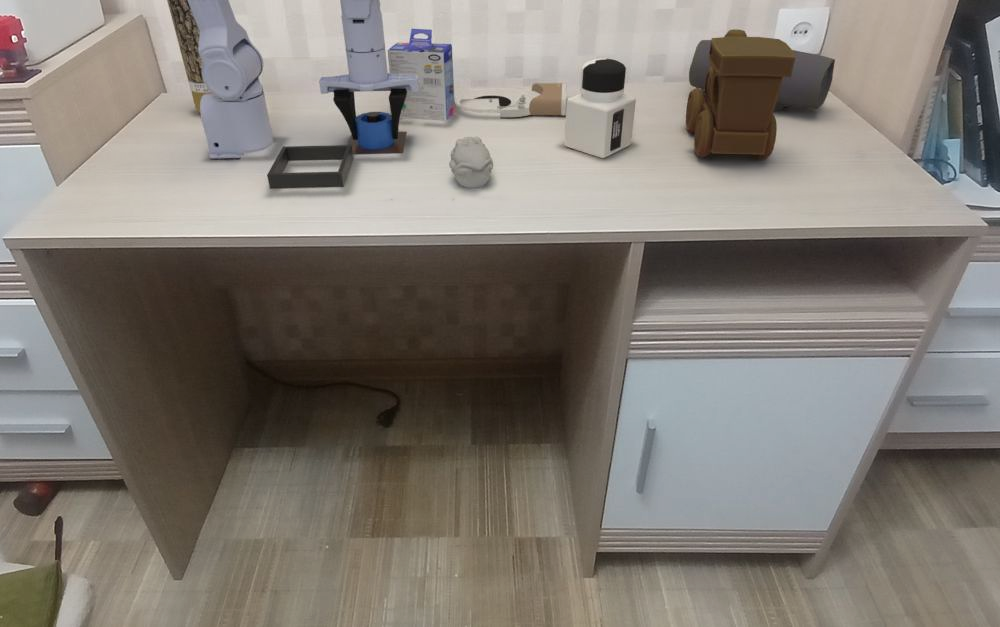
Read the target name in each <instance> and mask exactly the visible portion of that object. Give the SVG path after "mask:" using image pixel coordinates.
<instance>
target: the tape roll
mask: <svg viewBox="0 0 1000 627" xmlns="http://www.w3.org/2000/svg"><path fill="white" fill-rule="evenodd" d="M370 112H371V111H369V112H364V113H361V114H359V115H356V119H355V124H356V131H357V138H358V145H359V146H360V147H362V148H365V149H383V148H387V147H389V146H391V145H393V144H394V141H395V139H393V135H392V117H391V113H388V112H383V111H377V112H378V113H380V122H367V114H368V113H370Z"/></svg>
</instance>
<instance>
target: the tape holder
mask: <svg viewBox="0 0 1000 627" xmlns="http://www.w3.org/2000/svg"><path fill="white" fill-rule="evenodd" d="M369 112H370V113H368V112H367V113H368V114H367V122H380V113H378V112H379V111H369ZM407 134H408V131H398V139H395V141H394V144H393V145H391V146H389V147H387V148H383V149H365V148H362V147H360V146H359V145H358V140H353V137H352V134H350V136H349V138H348V139H349V140H348V142H347V145H352V152H353V156H358V155H391V154H392V155H393V154H394V155H395V154H399V155H400V154H404V150H405V145H406V141H407Z"/></svg>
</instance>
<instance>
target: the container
mask: <svg viewBox="0 0 1000 627" xmlns="http://www.w3.org/2000/svg"><path fill="white" fill-rule="evenodd" d="M626 74H627V67H626V66H625V64H623V63H622V62H620V61H619V60H616V59H612V58H594V59H591V60H587V61H585V62H584V63H583V65H582V66H581V74H580V93H578V94H576V95H573V96H571V97H568V98H566V116H565V129H564V130H565V131H564V146H565V147H566V148H570V149H572V150H576V151H578V152H581V153H585V154H587V155H591V156H594V157H597V158H599V159H605V158H607V157H609V156H611V155H613V154H615V153H617V152H620V151H621V150H624V149H625V148H627V147H630V145H632V141H633V140H632V139H633V131H634V122H635V121H634V120H635V112H636V102H637V98H636V96H633V95H628V94H624V93H625V83H626Z"/></svg>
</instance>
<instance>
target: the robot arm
mask: <svg viewBox="0 0 1000 627" xmlns="http://www.w3.org/2000/svg"><path fill="white" fill-rule="evenodd" d="M188 3H189V5H190V8H191V11H192V13H193V16H194V18H195V21H196V23H197V26H198V28H199V31H200V37H199V47H198V52H199V55H200V57H201V60H202V78H203V81H204V84H205V85H206V87H207V88H208V90H209V91H210V92H211V93H212V94H205V95H203V96H202V98H201V101H200V113H199V114H200V119H201V123H202V127H203V131H204V134H205V139H206V142H207V146H208V150H209V155H208V157H209V159H212V160H214V159H215V160H216V159H241V158H242V157H243V156H244V154H245V153H253V152H258V151H263V150H265V149H267V148H270V147H271V146H272V145H273V144H274V142H275V140H274V136H273V131H272V125H271V121H270V116H269V111H268V105H267V100H266V96H265V92H264V91H265V90H264V87H263V85H262V83H261V81H260V76H261V75H262V73H263V70H264V59H263V56H262V54H261V52H260V50H259V49H258V48H257V47H256V46H255V45H254V44H253V43H252V41H251V39H250V38H249V35H248V32H247V30H246V29H245V28H244V26H242V25H241V24H240V23H239V22H238V21H237V19H236V16H235V14H234V11H233V9H232V8H233V7H232V5H231V3H230V0H188ZM339 3H340V10H341V15H340V16H341V25H342V33H343V40H344V41H343V42H344V47H345V55H346V61H347V62H346V63H347V71H348V74H343V75H342V74H341V75H332V76H321V77H320V79H319V82H318V83H319V90H320V94H321V95H327V94H329V93H333V98H332V100H333V103H334V105H335V106H336V107H337V109H338V110H339V112H340V113H341V115H342V116H343V118H344V120H345V122H346V124H347V127H348V129H349V131H350V133H351V134H352V137H353V140H358V138H357V131H356V124H355V119H356V117H357V112H356V100H355V93H356V92H358V93H359V92H389V94H388V102H389V109H390V115H391V117H392V135H393V139H398V132H399V126H400V114H401V111H402V108H403V105H404V102H405V99H406V95H407V90H411V92H418V89H419V84H418V75H402V74H391V73H390V72H388V71H389V70H388V62H387V53H386V43H385V33H384V22H383V14H382V11H381V1H380V0H339ZM351 134H350V135H351Z"/></svg>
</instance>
